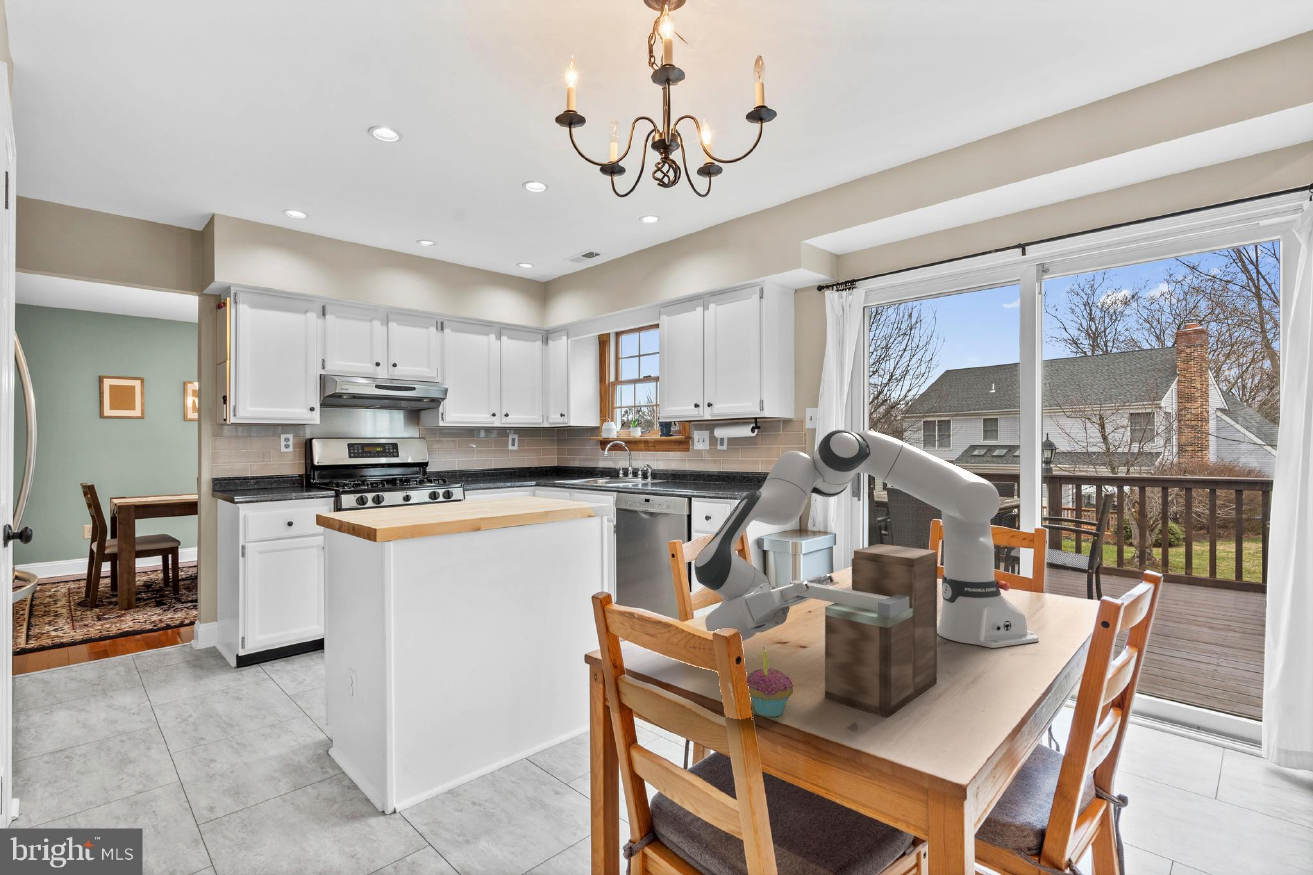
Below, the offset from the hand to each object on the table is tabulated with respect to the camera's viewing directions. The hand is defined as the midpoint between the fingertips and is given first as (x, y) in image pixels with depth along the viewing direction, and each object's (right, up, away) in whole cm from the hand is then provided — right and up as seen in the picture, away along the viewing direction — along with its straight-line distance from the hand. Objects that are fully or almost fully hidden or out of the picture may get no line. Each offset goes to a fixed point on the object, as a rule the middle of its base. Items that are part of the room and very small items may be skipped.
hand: (818, 581), depth 129 cm
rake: (+3, -3, -3) cm, 5 cm away
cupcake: (-12, -20, -12) cm, 26 cm away
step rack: (+12, -20, -3) cm, 23 cm away
